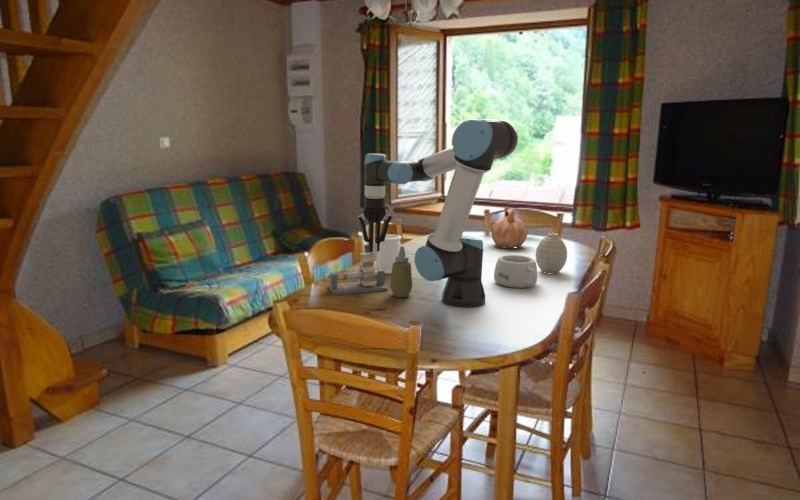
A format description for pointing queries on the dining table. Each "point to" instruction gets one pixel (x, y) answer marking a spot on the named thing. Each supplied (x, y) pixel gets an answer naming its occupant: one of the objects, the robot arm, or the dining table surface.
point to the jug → (509, 230)
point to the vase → (551, 254)
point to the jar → (388, 252)
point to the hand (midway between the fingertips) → (373, 260)
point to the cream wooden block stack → (367, 269)
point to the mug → (515, 271)
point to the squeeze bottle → (401, 275)
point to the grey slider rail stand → (355, 283)
